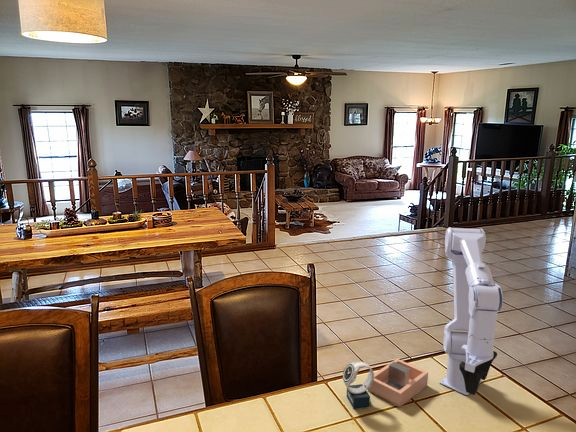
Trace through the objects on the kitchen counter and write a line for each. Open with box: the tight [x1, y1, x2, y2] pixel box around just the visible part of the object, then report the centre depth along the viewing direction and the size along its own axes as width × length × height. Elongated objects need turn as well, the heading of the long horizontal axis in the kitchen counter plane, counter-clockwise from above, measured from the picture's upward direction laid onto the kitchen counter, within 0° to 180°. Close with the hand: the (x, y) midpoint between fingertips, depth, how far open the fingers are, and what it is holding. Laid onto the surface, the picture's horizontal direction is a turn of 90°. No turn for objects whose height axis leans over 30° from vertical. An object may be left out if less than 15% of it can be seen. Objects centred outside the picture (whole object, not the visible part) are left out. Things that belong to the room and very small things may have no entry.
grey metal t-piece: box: [385, 362, 410, 390], centre depth 123 cm, size 5×5×6 cm
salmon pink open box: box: [367, 358, 429, 408], centre depth 123 cm, size 14×10×4 cm
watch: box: [342, 361, 375, 410], centre depth 116 cm, size 6×8×11 cm
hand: (475, 385), depth 109 cm, fingers open, 7 cm apart
